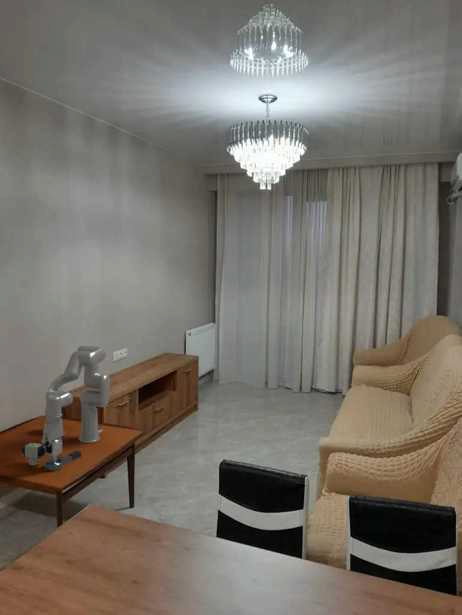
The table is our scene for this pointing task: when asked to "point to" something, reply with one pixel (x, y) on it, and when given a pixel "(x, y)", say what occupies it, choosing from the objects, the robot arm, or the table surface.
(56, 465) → the ratchet
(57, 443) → the domed grey cube
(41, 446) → the pneumatic valve
